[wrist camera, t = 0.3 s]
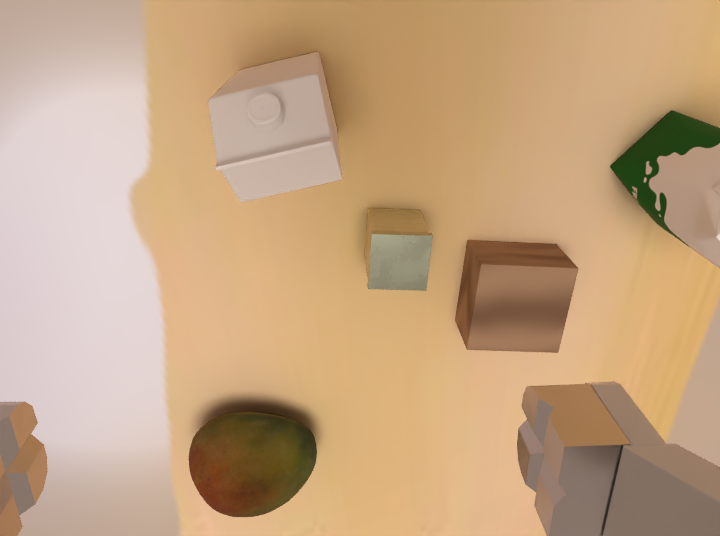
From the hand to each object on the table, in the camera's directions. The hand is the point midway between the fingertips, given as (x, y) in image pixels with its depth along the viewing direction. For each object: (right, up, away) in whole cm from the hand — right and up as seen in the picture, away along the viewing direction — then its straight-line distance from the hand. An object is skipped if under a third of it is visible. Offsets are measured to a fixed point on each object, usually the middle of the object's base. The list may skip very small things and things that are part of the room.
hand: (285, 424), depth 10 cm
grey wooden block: (+4, +6, +49) cm, 49 cm away
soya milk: (+30, +13, +47) cm, 57 cm away
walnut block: (+16, +1, +52) cm, 54 cm away
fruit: (-10, -15, +58) cm, 61 cm away
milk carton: (-5, +17, +43) cm, 47 cm away
